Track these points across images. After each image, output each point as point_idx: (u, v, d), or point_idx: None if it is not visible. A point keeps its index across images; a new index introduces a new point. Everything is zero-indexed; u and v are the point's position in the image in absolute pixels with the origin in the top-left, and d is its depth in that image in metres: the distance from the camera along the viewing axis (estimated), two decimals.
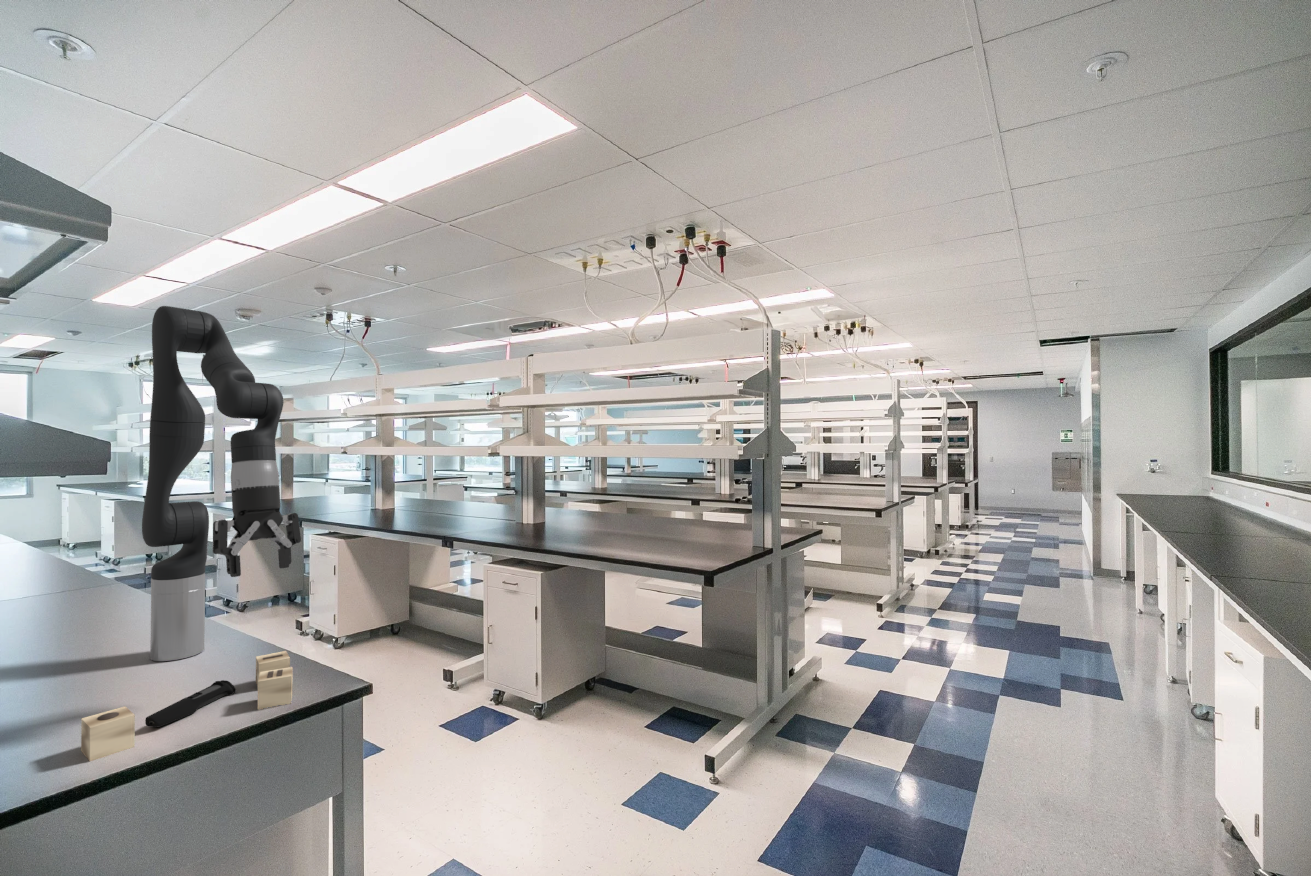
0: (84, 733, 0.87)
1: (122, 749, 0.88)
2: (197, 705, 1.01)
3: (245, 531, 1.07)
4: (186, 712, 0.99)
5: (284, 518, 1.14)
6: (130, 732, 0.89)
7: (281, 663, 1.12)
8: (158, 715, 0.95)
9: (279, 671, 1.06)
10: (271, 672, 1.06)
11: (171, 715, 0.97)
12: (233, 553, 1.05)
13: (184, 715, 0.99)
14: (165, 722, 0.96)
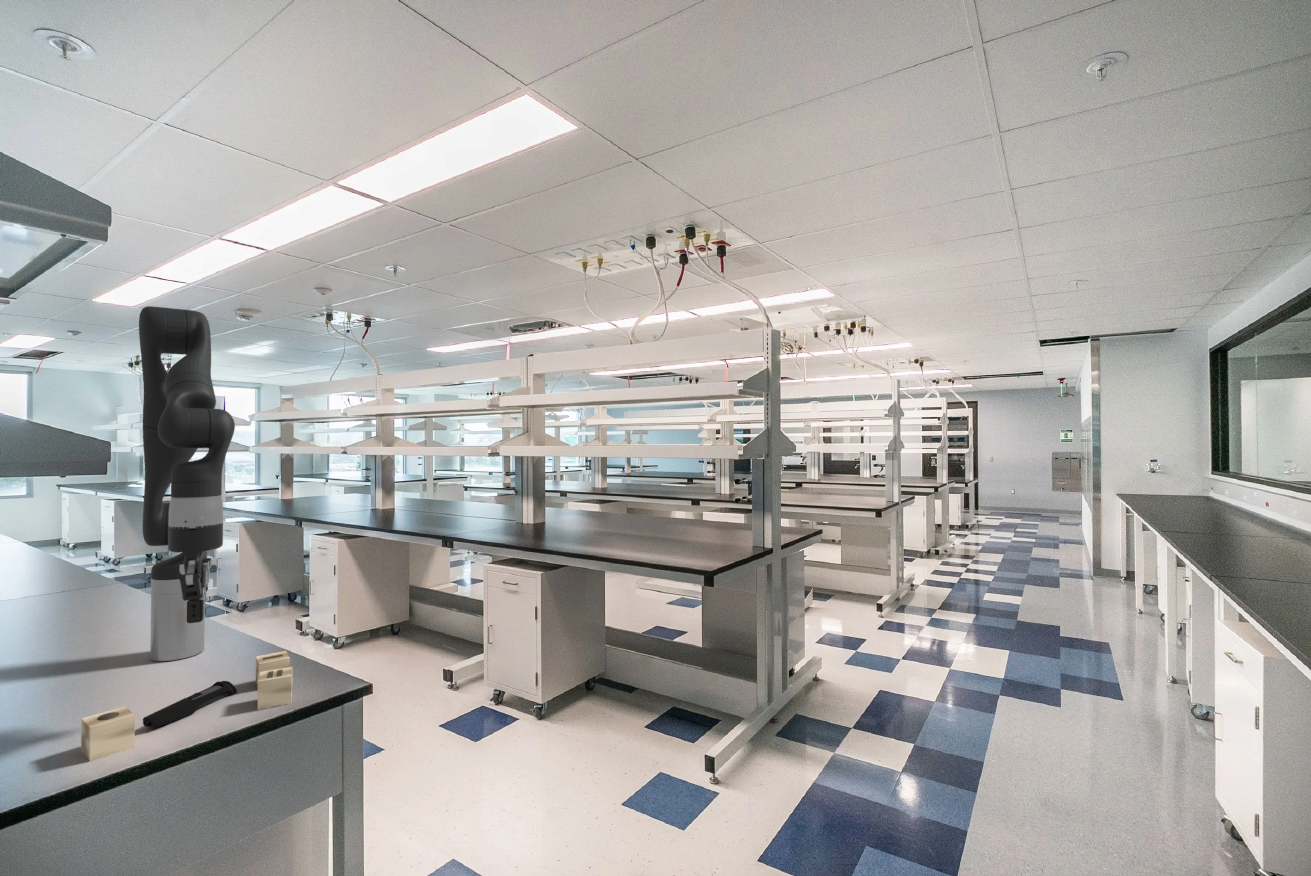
0: (84, 733, 0.87)
1: (122, 749, 0.88)
2: (196, 706, 1.01)
3: (203, 575, 1.01)
4: (184, 713, 0.99)
5: None
6: (130, 732, 0.89)
7: (281, 663, 1.12)
8: (155, 716, 0.95)
9: (279, 671, 1.06)
10: (271, 672, 1.06)
11: (168, 716, 0.97)
12: (203, 598, 1.02)
13: (182, 716, 0.99)
14: (162, 723, 0.95)
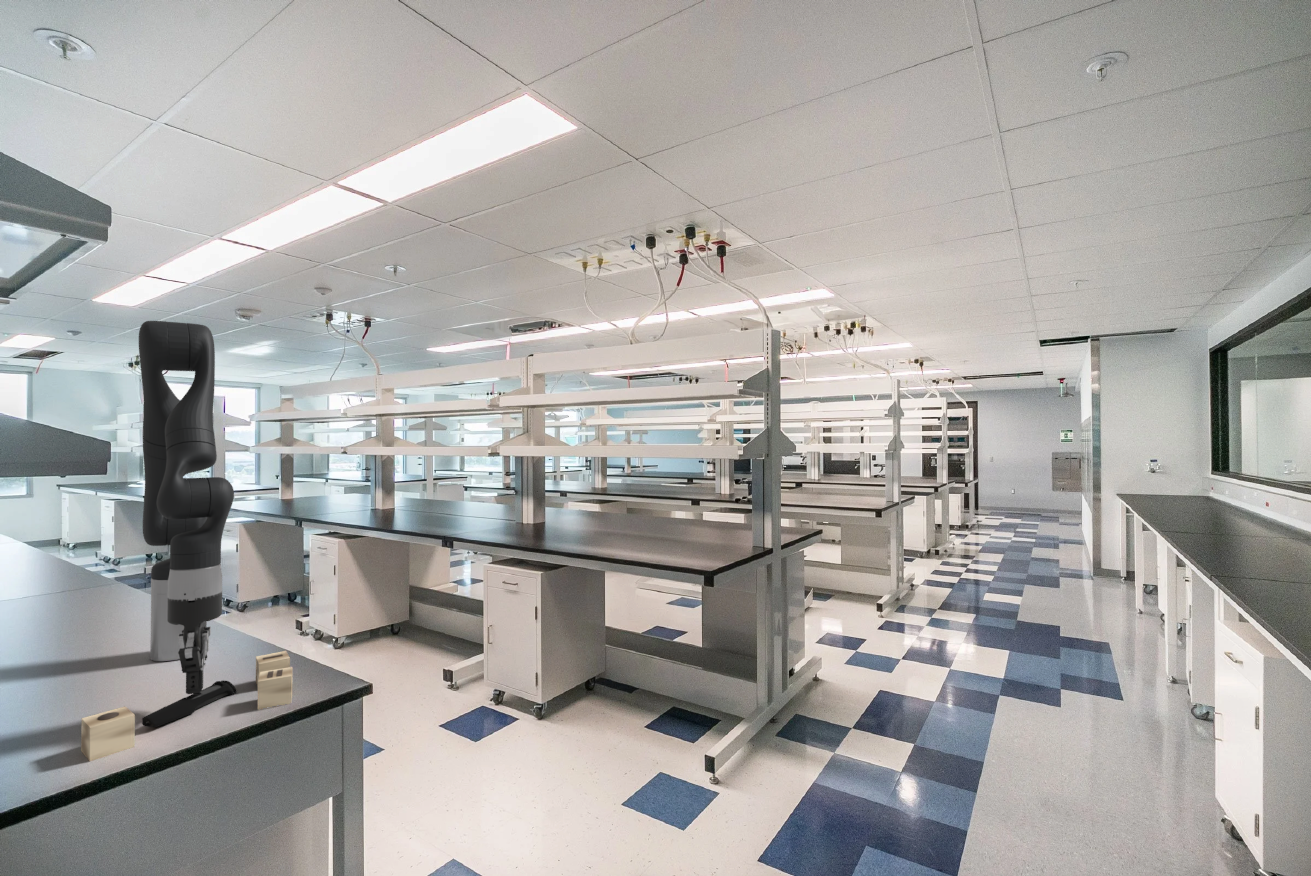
0: (84, 733, 0.87)
1: (122, 749, 0.88)
2: (195, 705, 1.01)
3: (202, 646, 1.01)
4: (184, 712, 0.99)
5: None
6: (130, 732, 0.89)
7: (281, 663, 1.12)
8: (154, 715, 0.95)
9: (279, 671, 1.06)
10: (271, 672, 1.06)
11: (168, 715, 0.97)
12: (202, 668, 1.02)
13: (182, 715, 0.98)
14: (162, 722, 0.95)
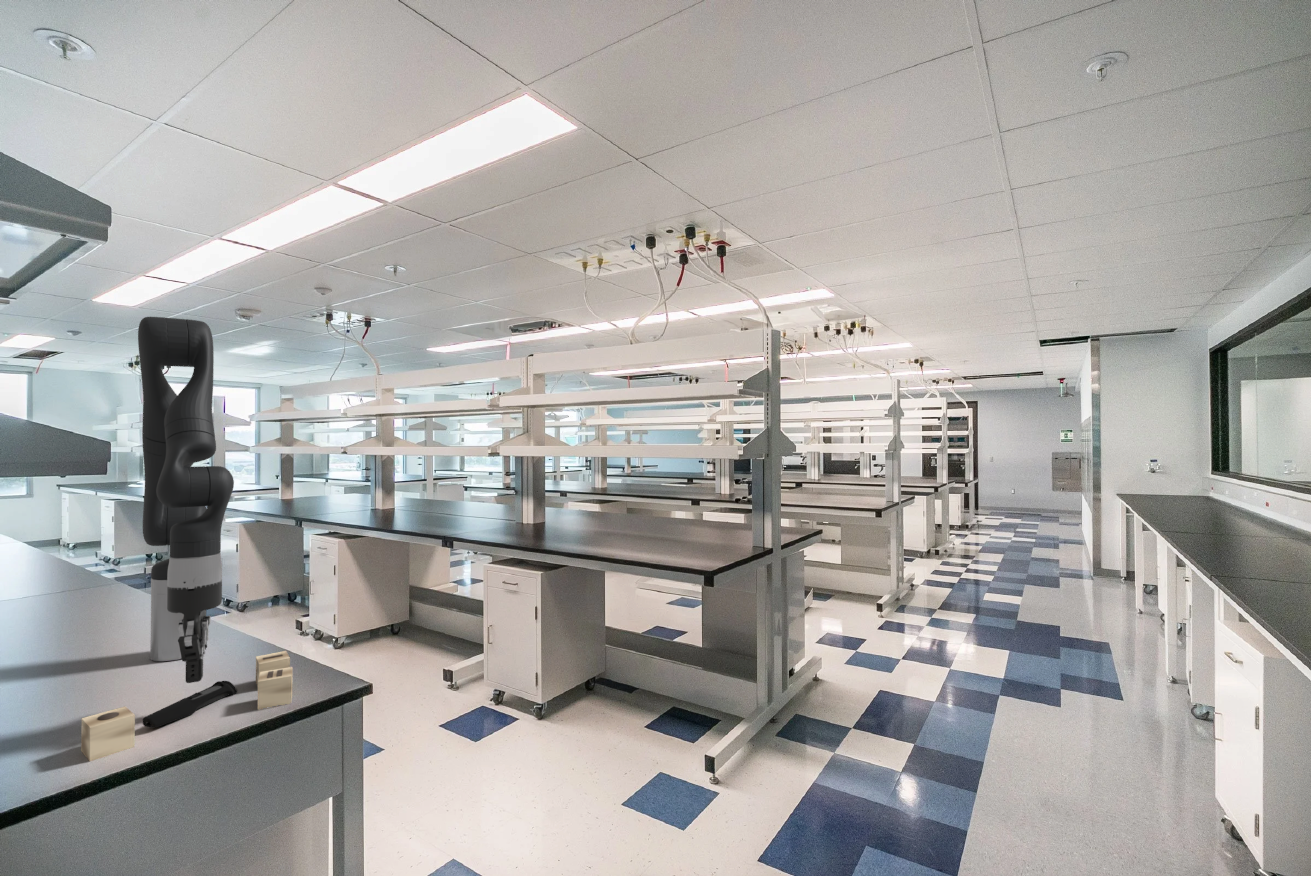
0: (84, 733, 0.87)
1: (122, 749, 0.88)
2: (196, 706, 1.01)
3: (202, 634, 1.01)
4: (184, 713, 0.99)
5: None
6: (130, 732, 0.89)
7: (281, 663, 1.12)
8: (155, 716, 0.95)
9: (279, 671, 1.06)
10: (271, 672, 1.06)
11: (168, 716, 0.96)
12: (202, 657, 1.02)
13: (182, 716, 0.98)
14: (162, 723, 0.95)
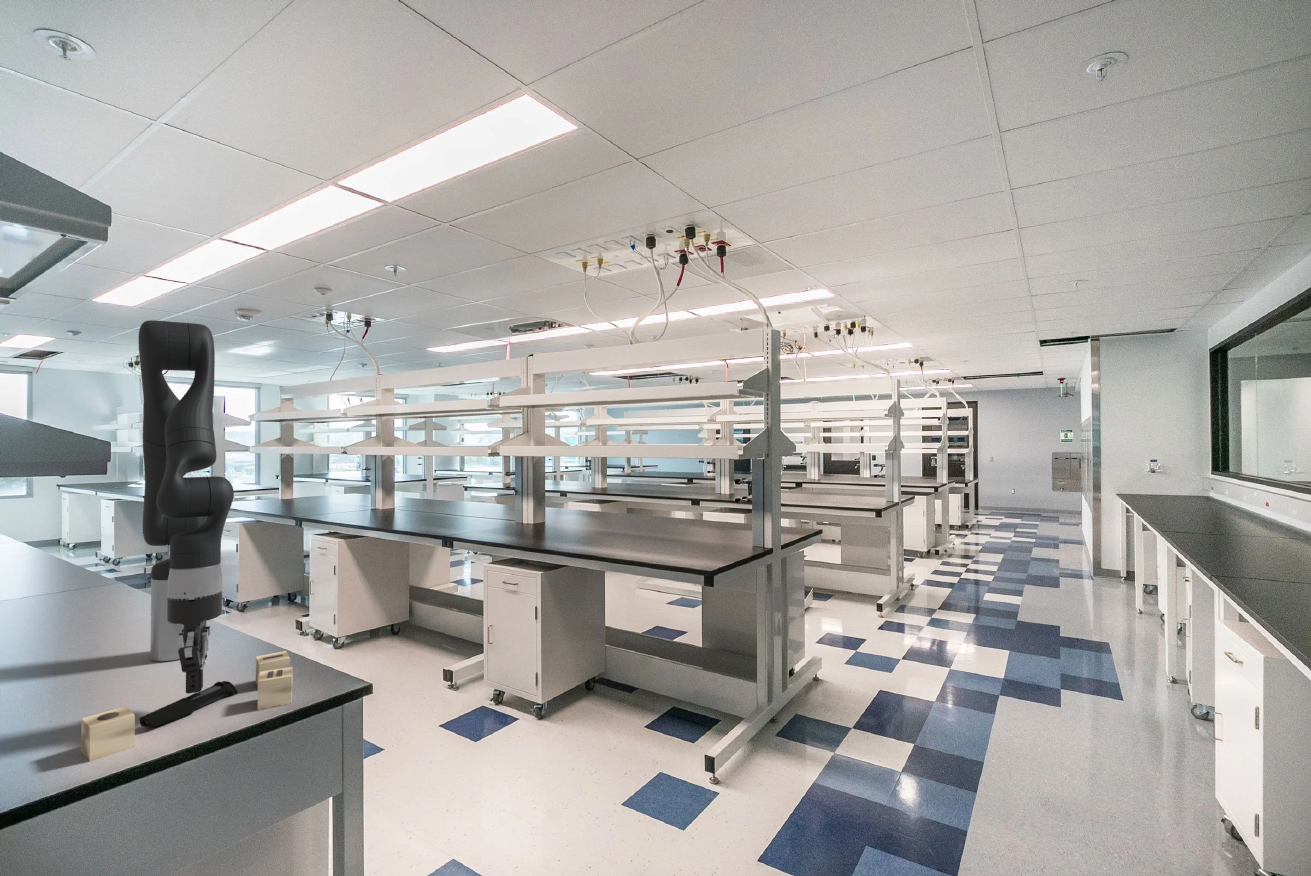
0: (84, 733, 0.87)
1: (122, 749, 0.88)
2: (194, 706, 1.01)
3: (202, 645, 1.01)
4: (182, 713, 0.99)
5: None
6: (130, 732, 0.89)
7: (281, 663, 1.12)
8: (152, 716, 0.95)
9: (279, 671, 1.06)
10: (271, 672, 1.06)
11: (165, 716, 0.96)
12: (202, 667, 1.02)
13: (180, 716, 0.98)
14: (159, 723, 0.95)
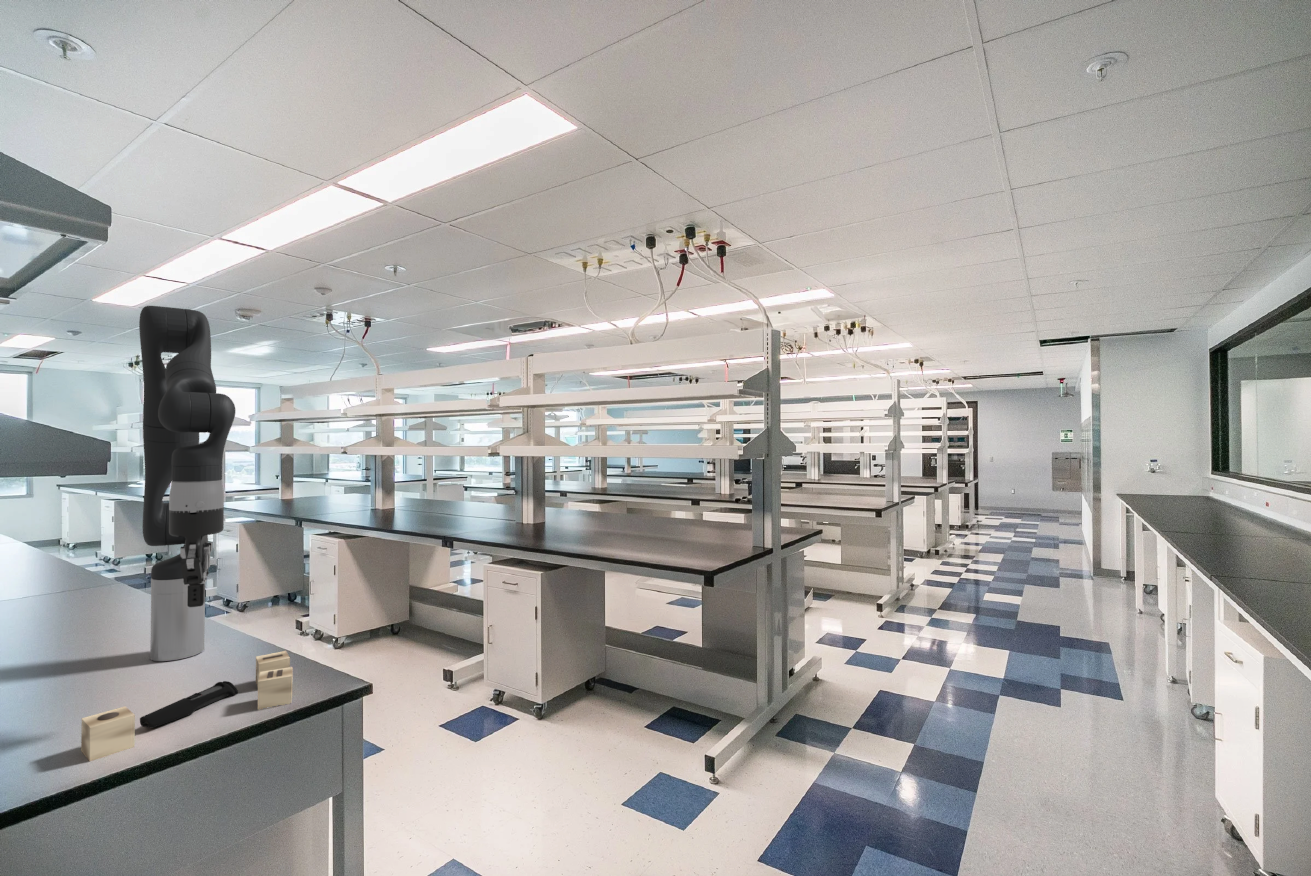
0: (84, 733, 0.87)
1: (122, 749, 0.88)
2: (194, 706, 1.01)
3: (204, 559, 1.01)
4: (182, 713, 0.99)
5: None
6: (130, 732, 0.89)
7: (281, 663, 1.12)
8: (152, 716, 0.95)
9: (279, 671, 1.06)
10: (271, 672, 1.06)
11: (165, 716, 0.96)
12: (204, 582, 1.02)
13: (180, 716, 0.98)
14: (159, 723, 0.95)
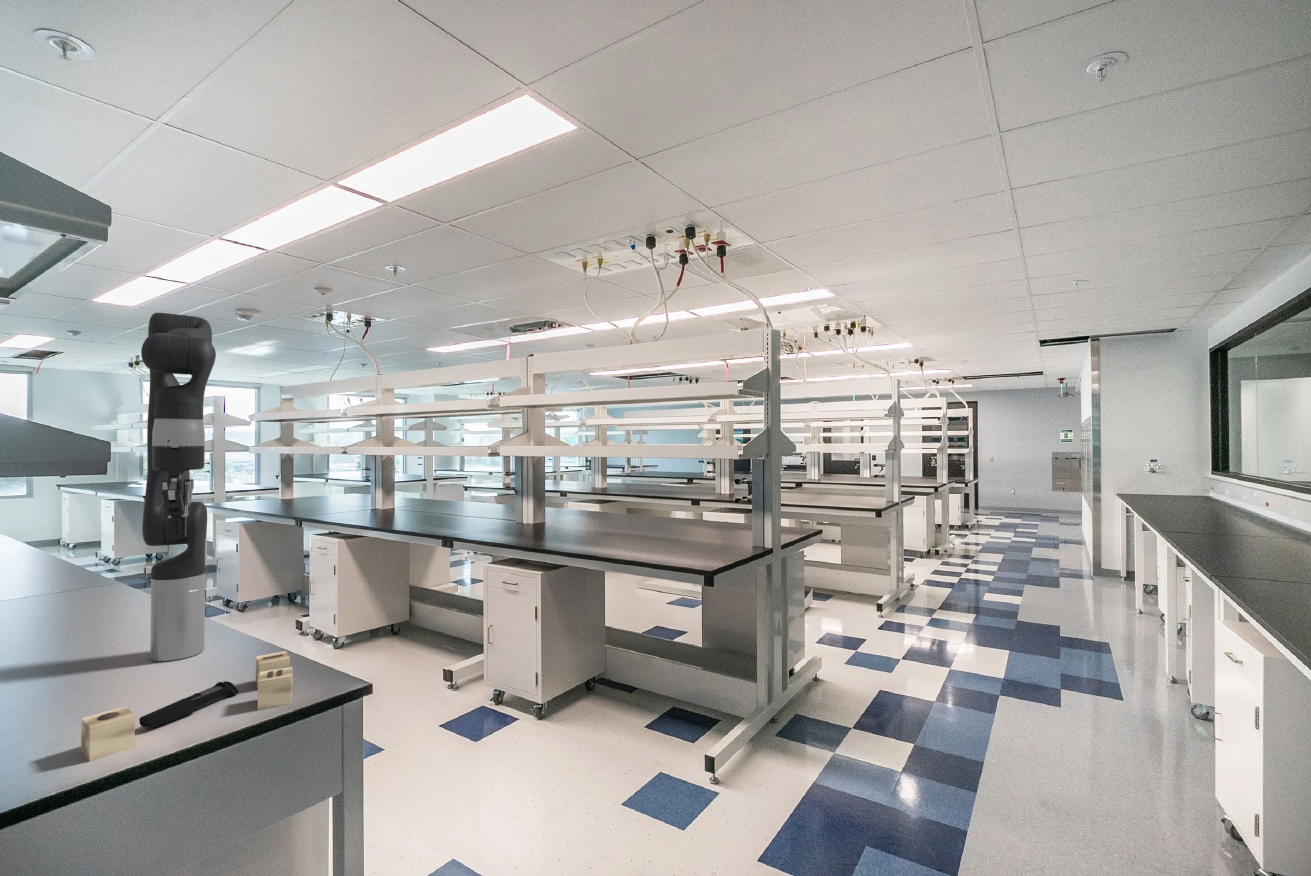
0: (84, 733, 0.87)
1: (122, 749, 0.88)
2: (194, 706, 1.01)
3: (185, 493, 1.07)
4: (182, 713, 0.99)
5: None
6: (130, 732, 0.89)
7: (281, 663, 1.12)
8: (151, 716, 0.95)
9: (279, 671, 1.06)
10: (271, 672, 1.06)
11: (165, 716, 0.96)
12: (185, 515, 1.08)
13: (180, 716, 0.98)
14: (158, 723, 0.95)
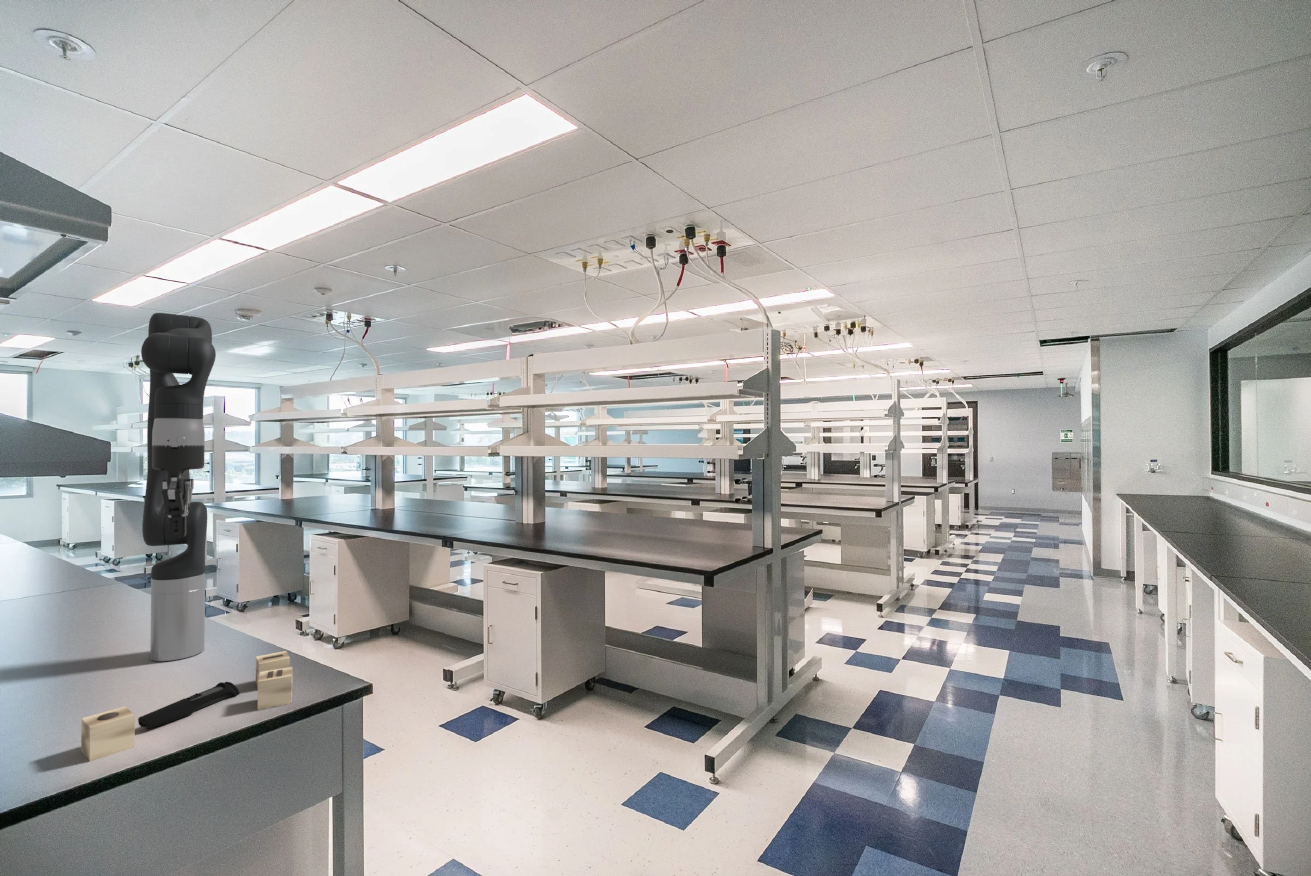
0: (84, 733, 0.87)
1: (122, 749, 0.88)
2: (194, 707, 1.00)
3: (185, 493, 1.07)
4: (181, 714, 0.98)
5: None
6: (130, 732, 0.89)
7: (281, 663, 1.12)
8: (150, 716, 0.95)
9: (279, 671, 1.06)
10: (271, 672, 1.06)
11: (164, 717, 0.96)
12: (185, 514, 1.08)
13: (179, 717, 0.98)
14: (157, 724, 0.95)
